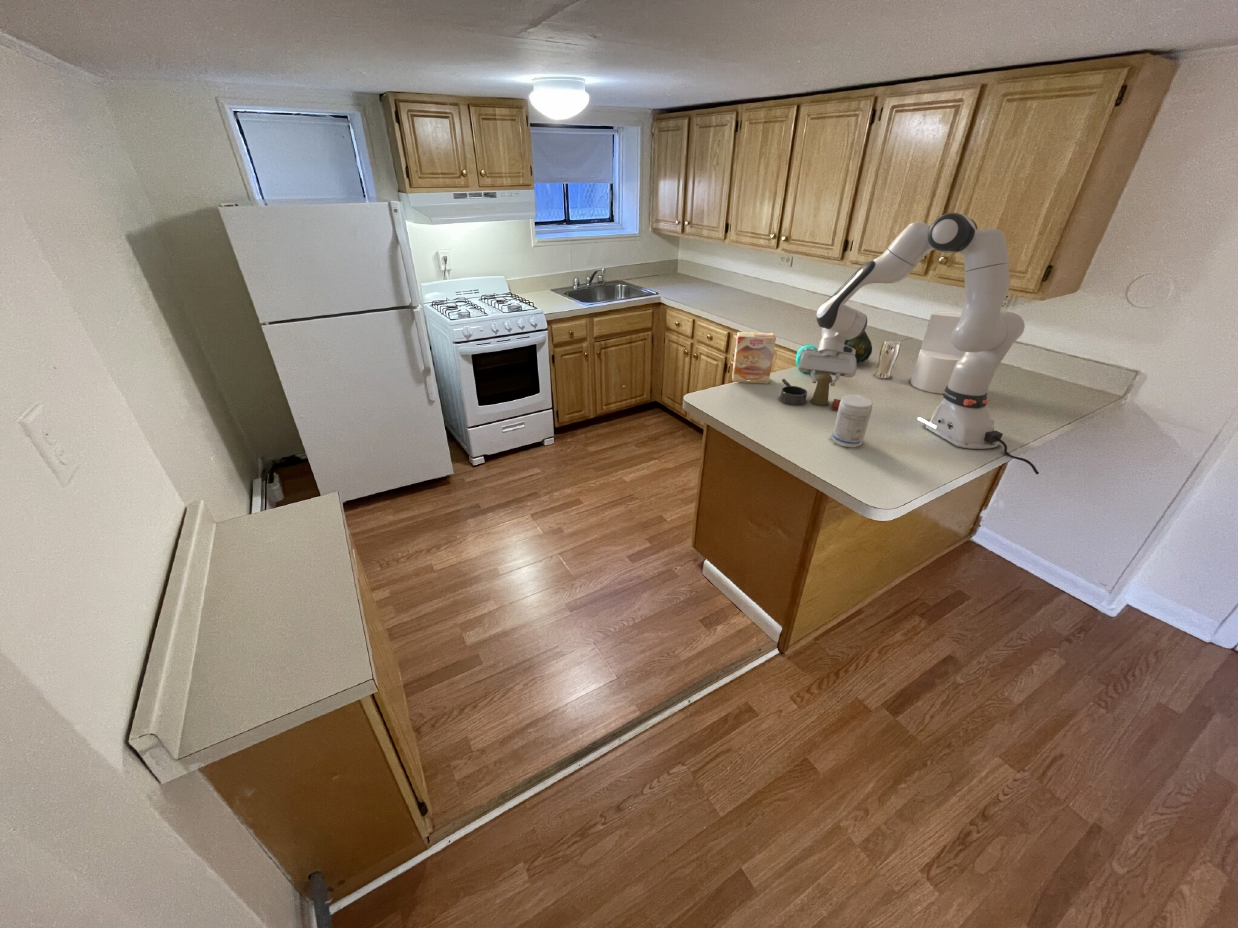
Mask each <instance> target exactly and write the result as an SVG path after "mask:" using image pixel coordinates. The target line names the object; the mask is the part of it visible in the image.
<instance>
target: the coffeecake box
mask: <svg viewBox="0 0 1238 928" xmlns="http://www.w3.org/2000/svg"><path fill="white" fill-rule="evenodd" d="M776 341H777V337H776V335H775V333H774V332H757V331H756V332H755V331H753V332H752V331H747V332H746V331H737V333H736V341H735V346H734V347H735V348H734V349H735V350H734V356H733V364H732V372H731V378H732V379H731V380H732V382H733V383H743V382H742V381H745V382H744V383H749V384H750V383H752V384H769V383H770V378H771V371H772V366H773V359H774V354H775V353H774V352H775V347H776ZM747 380H750V381H747Z"/></svg>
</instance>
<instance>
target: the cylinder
mask: <svg viewBox="0 0 1238 928" xmlns="http://www.w3.org/2000/svg"><path fill="white" fill-rule="evenodd" d="M961 314H962V312H959V311H958V312H957V311H934V312H932V313H931V314H930V318H929V320H928V324H927V327H926V330H925V334H924V337H923V340H922V344H921V346H920V350H919V353H918V356H917V358H916V361H915V362H916V363H915V365H914V369H913V372H912V375H911V378H910V385H912V387H915V388H916V389H919V390H921V391H924V392H928V393H932V394H933V393H934V394H942V395H943V393H944V390H945V388H946V386H947V385H948V384H949V381H950V378H951V376H952V373H953V370H954V367H955V365H956V363H957V362H958V361H959V360H960V359H961V358H962V357H963V355H964V354H965V353H966V352H963V351H960V350H958V349H957V348H955V346H954V345H953V343H952V338H951V337H952V332H953V330H954V328H955V327H956V326H957V324H958V322H959V320H960V317H961Z"/></svg>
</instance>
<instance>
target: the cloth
mask: <svg viewBox="0 0 1238 928" xmlns="http://www.w3.org/2000/svg"><path fill="white" fill-rule="evenodd" d="M840 401H841V399H838V398H833V403H832V410H831V411H835V412H838V409H839V405H840Z"/></svg>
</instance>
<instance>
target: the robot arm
mask: <svg viewBox="0 0 1238 928" xmlns="http://www.w3.org/2000/svg"><path fill="white" fill-rule="evenodd" d="M1007 244H1008V243H1007V240H1006V236H1005V233H1004V231H1003V230H1001V229H998V228H993V227H991V228H983V229H978V225H977V223H976V222H975V220H974V219H972V218H970V217H969V216H968V215H966V214H963V213H958V212H948V213H944V214H942V215H940V216H939V217H937V218H936V219H935V220H934V221H933V222H932V223H931V224H928V223H926V222H924V221H914V222H911V223H910V224H908V225H907V226H906V227H905V228H904V229H903V230H902V231H901V232H900V233H899V234H898V235H897V236H896V237H895V238H894V240H893V241H892V242H891V243H890V244H889V245H888V247H887V248H886V250H885V251H884V252H883V253H882V254H881V255H879V256H878V257H876V258H875V259H873V260H869V261H866V262H865V263H863V264H862V265H860V267H859V268H858V269H857V270H855V272H854V273H852V275H850V277H849V278H848V279H847V280H845V282H844V283H843V284H842V285H841V286H840V287H839V288H838V289H837V290H836V291H835V292H834V293H833V294H831V296H830V297H829V298H828V299H826V300H825V301H824V302H822V303H821V305H820V306H819V307H818V309H817V311H816V313H815V319H816V323H817V325H818V326H819V327H820V328H821V338H820V340H819V342H818V343H819V344H818V347H817V349H809V348H806V349H803V350H802V351H801V354H800V357H801V360H800V363H799V367H797V369H798V371H799V372H803V373H807V372H808V373H810V376H811V378H812V381H811V383H812V384H814V385H815V384H816V385H817V383H818V382H817V377H816V374H818V375H819V374H823V373H824V374H829V375H831V376H835V378H834V379H832V381H831V383H830V387H831V386H832V387H835V386H836V383H837V382H838V381H839V380H840V377H842V378H843V377H844V378H854V376H855V375H856V373H857V364H856V357H855V352H856V350H855V349H854V348H851V347H849V346H846V345H844V342H845V340H850V339H853V338H856V337H858V336H860V335H862V334H863V333H864V331H865V332H866V329H867V326H868V316H867V315H866V313H864V312H862V311H860V310H857V309H855V308H852V307H850V306H848V305H847V304H846V303H847V302H848V301H849V300H850V299H851V298H852V297H853V296H854V295H856V293H857V292H858V291H859V290H860V289H862V288H863V287H865V286H867V285H870V284H871V285H872V284H895V283H898V282H901V281H904V280H905V279H906V278H907V277H908V276H910V274H911V273H912V272H913V271H914V269H916V267H917V266H918V264H920V262H921V261H922V260H923V258H924V257H925V256H927V254H928V253H930V252H932V251H935V250H936V251H939V252H941V253H944V254H956V253H959V254H961V256H962V258H963V265H964V266H963V268H964V274H963V275H964V301H963V305H962V311H961V313H962V314H961V317H960V320H959V322H958V324H957V326H956V327H955V328H954V330H953V332H952V337H951V338H952V343H953V345H954V346H955V348H957V349H958V350H960V351H963V352H966V353H965V354H964V355H963V357H962V358H961V359H960V360H959V361H958V362H957V363H956V365H955V367H954V370H953V373H952V376H951V378H950V381H949V384H948V385H947V386H946V388H945V390H944V393H943V394H942V399H941V400H940V402H939V403H938V404H937V406H936V408H935V409H934V412H933V414H932V416H931V419H930V420H929V421H928V420H926V419H924V418H922V417H917V421H919V422H922V423H924V424H925V429H927V430H929V431H930V432H931V433H933V434H935V435H937V436H939V437H940V438H942V439H944V440H945V441H947V442H949V443H951V444H952V445H954V446H956V447H958V448H964V449H970V450H971V449H972V450H987V449H994V448H997V447H998V446H999V444H1002V446H1003V453H1004V454H1005V455H1006V456H1007V457H1009V458H1011V459H1015V460H1018V461H1022V462H1024V463H1026V464H1028V465H1029V466H1030V467H1031V468H1032V470H1033V472H1034V473H1035V475H1039V474H1040V472H1039V471H1038V469H1037V468H1036V466H1035V465H1034V464H1033V462H1032V461H1030V460H1028V459H1026V458H1023V457H1021V456H1020V457H1019V456H1015V455H1012V454H1011V453H1009V452H1008V445H1007V444H1006V442H1005V441H1003V439H1002V436H1003V435H1004V433H1003V432H1000V431H998V430H995V424H994V423H995V421H994V419H992V417H991V416H990V414H989V412H988V410H987V405H988V404H989V402H991V399H988V390H989V387H990V386H991V385H990V384H991V382H992V380H993V378H994V375H995V373H996V371H997V369H998V368H999V366H1000V364H1001V363H1002V361H1003V360H1004V358H1005V356H1006V355H1007V353H1008V352H1009V350H1010V349H1011V348H1012V346H1013V345H1014V344H1015V342H1016V341H1018V339H1020V338H1021V336H1022V335H1023V333H1024V331H1025V327H1026V326H1025V325H1026V324H1025V320H1024V319H1023V317H1022V316H1021V315H1019V313H1015V312H1010V311H1002V306H1003V303H1004V300H1005V297H1006V295H1008V293H1009V290H1010V258H1009V249H1008V245H1007Z"/></svg>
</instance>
